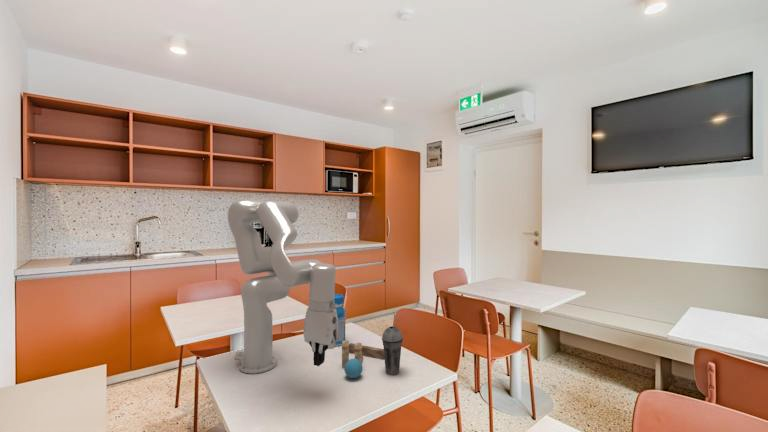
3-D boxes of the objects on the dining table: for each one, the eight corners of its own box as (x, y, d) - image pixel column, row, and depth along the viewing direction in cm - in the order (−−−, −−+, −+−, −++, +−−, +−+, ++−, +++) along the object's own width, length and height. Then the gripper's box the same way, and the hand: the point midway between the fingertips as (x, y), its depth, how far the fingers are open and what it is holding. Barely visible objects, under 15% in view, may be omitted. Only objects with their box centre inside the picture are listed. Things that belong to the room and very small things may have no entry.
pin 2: (353, 370, 116) (353, 345, 116) (355, 367, 118) (355, 342, 118) (360, 371, 115) (360, 345, 115) (362, 368, 118) (362, 342, 118)
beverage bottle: (336, 348, 135) (336, 299, 135) (321, 344, 140) (321, 296, 140) (349, 341, 142) (349, 295, 142) (334, 337, 147) (334, 292, 147)
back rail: (387, 357, 126) (387, 349, 126) (385, 359, 125) (385, 351, 125) (350, 350, 133) (350, 343, 133) (347, 352, 131) (347, 344, 131)
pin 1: (341, 368, 118) (341, 342, 118) (342, 365, 120) (342, 340, 120) (347, 368, 117) (348, 343, 117) (349, 365, 120) (349, 340, 120)
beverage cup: (377, 372, 115) (377, 314, 115) (391, 365, 120) (391, 310, 120) (393, 379, 110) (393, 319, 110) (407, 371, 115) (407, 314, 115)
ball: (346, 371, 115) (338, 372, 110) (355, 355, 116) (346, 354, 111) (360, 381, 112) (351, 382, 107) (368, 364, 113) (360, 364, 108)
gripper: (349, 305, 102) (346, 364, 102) (308, 297, 108) (306, 353, 108) (335, 312, 95) (332, 375, 95) (293, 303, 101) (291, 363, 101)
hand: (318, 363), depth 102 cm, fingers closed
